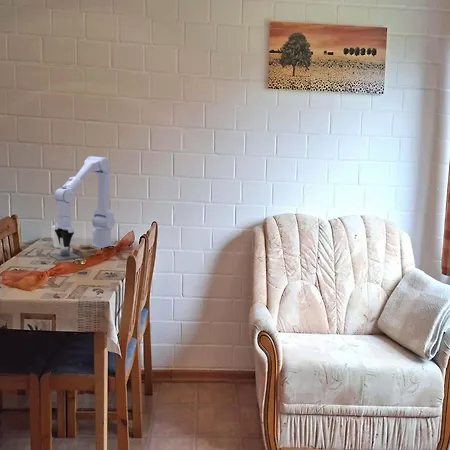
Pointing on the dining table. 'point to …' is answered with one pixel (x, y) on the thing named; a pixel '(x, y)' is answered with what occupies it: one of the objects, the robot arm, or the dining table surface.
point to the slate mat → (59, 257)
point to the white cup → (55, 237)
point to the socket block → (85, 250)
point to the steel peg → (64, 248)
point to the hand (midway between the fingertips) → (64, 245)
